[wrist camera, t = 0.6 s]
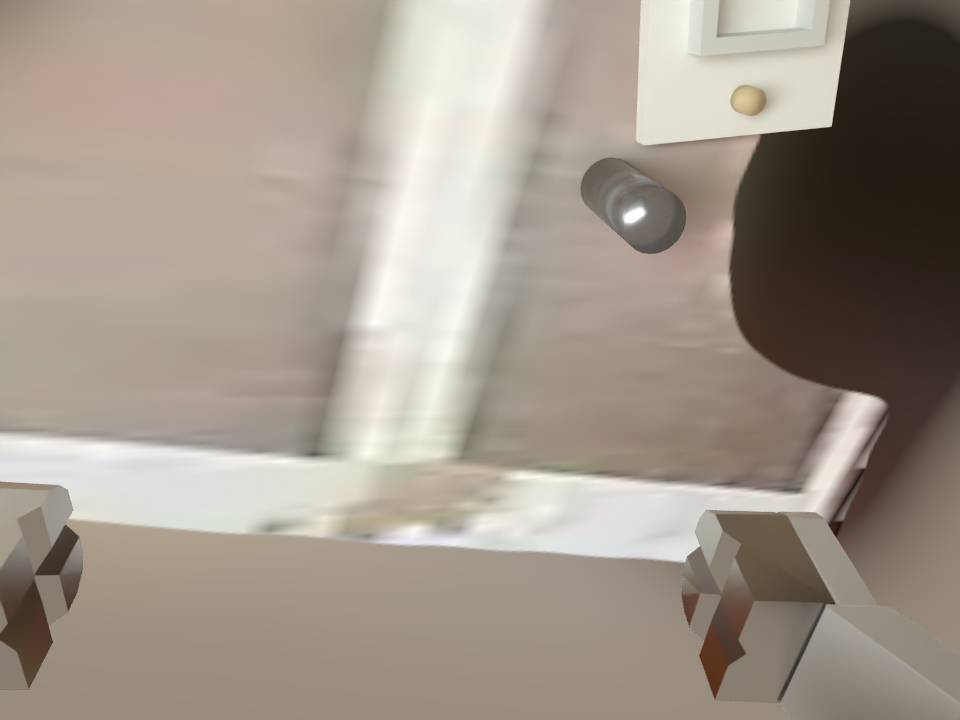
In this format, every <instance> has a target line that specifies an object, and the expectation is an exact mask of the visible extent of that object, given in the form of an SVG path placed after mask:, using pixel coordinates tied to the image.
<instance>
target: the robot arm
mask: <svg viewBox="0 0 960 720" xmlns="http://www.w3.org/2000/svg"><path fill="white" fill-rule="evenodd" d="M72 511H73V507H72V503H71V500H70V496H69V493H68V490H67V489H65V488H63V487H62V486H60V485H46V484H29V483H13V482H0V690H29V688H30V686H31V684H32V682H33V680H34V678H35V677H36V675H37V673H38V671H39V669H40V667H41V664H42V663H43V661H44V659H45V657H46V655H47V653H48V651H49V649H50V647H51V645H52V643H53V640H52V637H51V633H50V629H49V625H50V624H52V623H53V622H55V621H56V620H57V619H59V618H60V617H62V616H63V615H65V614H66V613H67V612H68V611H69V609H70V607H71V604H72V603H73V600H74V599H75V596H76V594H77V592H78V588H79V583H80V579H81V575H82V570H83V551H82V547H81V542H80V537H79V536H78V535H77V534H76V533H75V532H74V531H72V530H71V529H70V528H69V527H68V526H67V525H65V524H66V522H67V520H68V519H69V517H70V515H71V513H72ZM695 534H696V536H697V539H698V541H699V544H700V547H699V548H697V549H696V550H695V551H694V552H692V553H691V554H690V555H688V556H687V559H686V562H685V566H684V570H683V574H682V593H681V594H682V601H683V608H684V612H685V615H686V618H687V622H688V625H689V627H690V628H691V629H692V630H693V631H694V632H695V633H697V634H698V635H699V636H700V637H701V638H702V639H703V640H704V643H703V646H702V649H701V652H700V654H699V657H700V660H701V662H702V665H703V668H704V671H705V674H706V677H707V679H708V682H709V685H710V688H711V691H712V694H713V696H714V699H715V700H721V701H744V702H767V703H780V705H779V707H780V708H781V709H782V710H783V711H784V712H785V713H786V714H787V716H789V718H790V719H791V720H960V655H959V654H958V653H956V652H955V651H953V650H952V649H950V648H949V647H948V646H946V645H945V644H943V643H942V642H940V641H939V640H937V639H936V638H934V637H933V636H932V635H930V634H929V633H927V632H926V631H924V630H923V629H921V628H920V627H919V626H917V625H916V624H914V623H913V622H911V621H910V620H908V619H907V618H906V617H904V616H903V615H901V614H900V613H898V612H897V611H896V610H894V609H893V608H891V607H887V606H878V604H877V603H876V601H875V600H874V598H873V596H872V595H871V593H870V592H869V590H868V588H867V587H866V585H865V584H864V582H863V580H862V579H861V577H860V576H859V574H858V572H857V571H856V569H855V568H854V566H853V565H852V563H851V561H850V559H849V558H848V556H847V555H846V553H845V551H844V550H843V549H842V547H841V545H840V543H839V542H838V540H837V539H836V537H835V535H834V534H833V532H832V531H831V529H830V527H829V526H828V524H827V523H826V521H825V520H824V518H823V517H821V516H820V515H818V514H817V513H814V512H778V513H775V512H749V511H717V510H706V511H705V512H704V513H703V514H702V516H701V517H700V519H699V522H698V525H697V527H696V530H695Z"/></svg>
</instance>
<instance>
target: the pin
mask: <svg viewBox="0 0 960 720" xmlns="http://www.w3.org/2000/svg"><path fill="white" fill-rule="evenodd" d="M581 195H582V198H583V201H584V202H585V204H586V205H587V206H588V207H589V208H590V209H591V210H592V211H593V212H594V213H595V214H596V215H598V216H599V217H600V218H601V219H602V220H603V221H604V222H605V223H606V224H607V225H609V226H610V227H611V228H612V229H613V230H614V231H615V232H616V233H617V234H619V235H620V236H621V237H622V238H623V239H624V240H625V241H626V242H627V243H629V244H630V245H631V246H632V247H633V248H634V249H636V250H637V251H639V252H642V253H647V254H654V253H659V252H662V251H664V250H666V249H668V248H669V247H671V246H672V245H673V244H674V243H675V242H676V241H677V240H678V239H679V237H680V236H681V234H682V232H683V230H684V227H685V223H686V211H685V208H684V205H683V203H682V202H681V200H680V199H679V198H678V197H677V196H676V195H674V194H673V193H671V192H670V191H668V190H666V189H665V188H663V187H662V186H660V185H659V184H657V183H656V182H654V181H653V180H651V179H650V178H648V177H647V176H645V175H643V174H642V173H640V172H639V171H637V170H636V169H634V168H633V167H631V166H630V165H628V164H627V163H625V162H623V161H622V160H619V159H616V158H606V159H602V160H600V161H598V162H596V163H594V164H593V165H592V166H591V167H590V168H589V169H588V170H587V171H586V173H585V175H584V177H583V180H582V183H581Z"/></svg>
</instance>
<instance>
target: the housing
mask: <svg viewBox="0 0 960 720" xmlns="http://www.w3.org/2000/svg"><path fill="white" fill-rule="evenodd" d="M849 5H850V0H641V16H640V43H639V71H638V99H637V126H636V141H637V142H639V143H640V144H642V145H653V144H663V143H673V142H683V141H693V140H703V139H713V138H723V137H733V136H743V135H753V134H763V133H773V132H783V131H792V130H803V129H813V128H823V127H831V126H832V120H833V113H834V106H835V99H836V92H837V86H838V80H839V73H840V66H841V59H842V53H843V46H844V39H845V33H846V26H847V19H848V12H849Z"/></svg>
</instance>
